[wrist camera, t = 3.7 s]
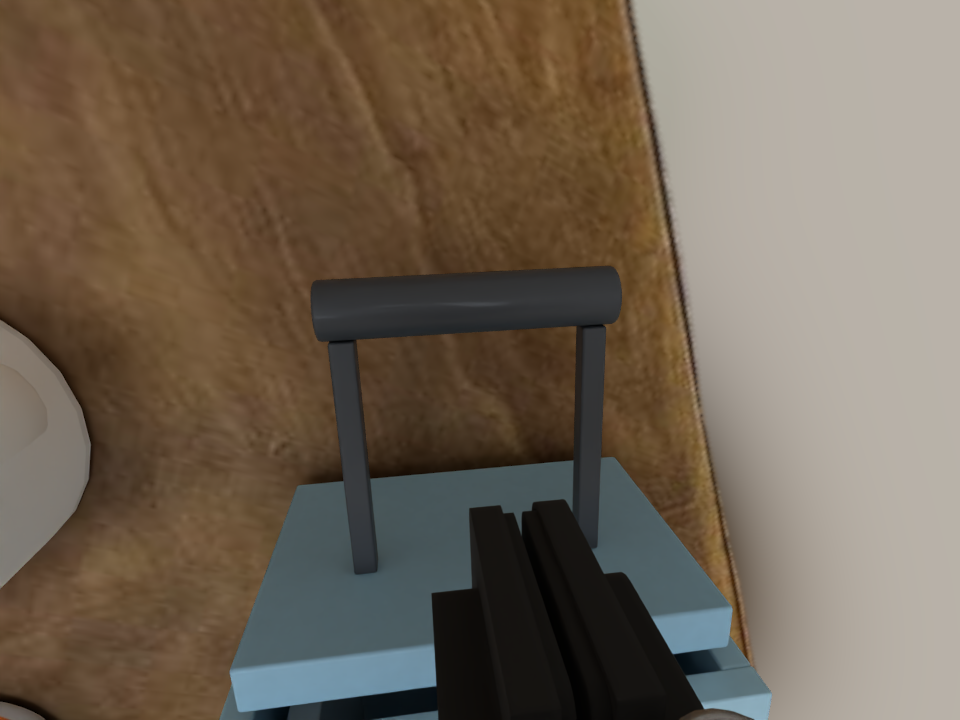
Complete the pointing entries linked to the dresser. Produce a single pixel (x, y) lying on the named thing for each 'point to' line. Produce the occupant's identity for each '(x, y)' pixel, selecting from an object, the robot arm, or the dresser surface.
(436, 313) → the drawer
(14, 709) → the pill bottle
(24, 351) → the mug
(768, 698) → the cabinet
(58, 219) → the dresser surface
